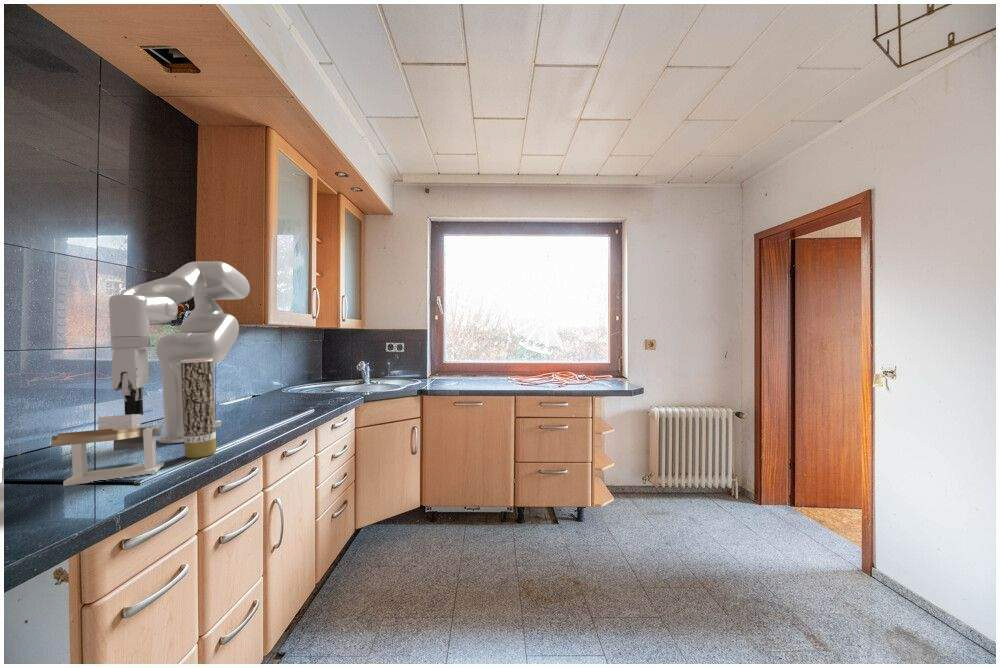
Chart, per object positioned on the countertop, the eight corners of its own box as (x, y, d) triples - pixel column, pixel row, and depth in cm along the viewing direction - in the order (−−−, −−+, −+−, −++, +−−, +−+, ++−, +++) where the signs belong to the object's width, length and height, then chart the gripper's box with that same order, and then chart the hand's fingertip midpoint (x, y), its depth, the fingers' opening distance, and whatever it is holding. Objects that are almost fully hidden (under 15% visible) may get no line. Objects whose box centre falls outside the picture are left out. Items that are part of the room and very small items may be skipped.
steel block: (109, 433, 102) (109, 416, 103) (141, 430, 105) (141, 414, 105) (97, 435, 97) (98, 417, 97) (131, 431, 99) (131, 414, 100)
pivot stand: (75, 477, 98) (73, 433, 97) (165, 465, 104) (163, 424, 104) (61, 486, 92) (59, 439, 92) (157, 473, 99) (155, 430, 99)
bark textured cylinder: (188, 453, 114) (184, 359, 114) (218, 449, 117) (215, 357, 116) (181, 460, 108) (177, 361, 107) (213, 456, 111) (209, 359, 110)
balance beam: (112, 450, 108) (113, 428, 109) (161, 444, 112) (161, 423, 113) (50, 462, 83) (51, 434, 84) (116, 455, 87) (117, 428, 88)
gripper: (123, 343, 114) (127, 412, 114) (98, 345, 100) (102, 424, 101) (159, 342, 117) (162, 409, 117) (138, 344, 103) (142, 420, 104)
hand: (134, 416), depth 109 cm, fingers closed
